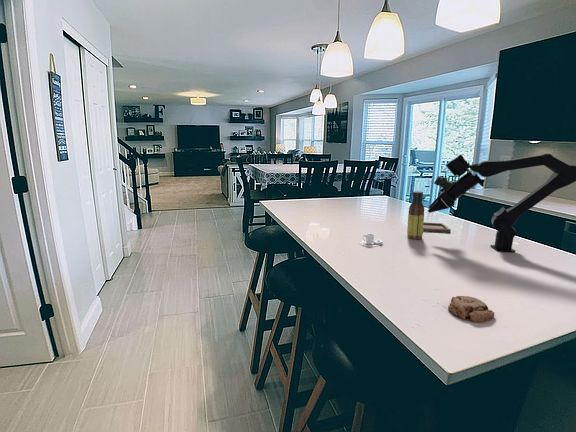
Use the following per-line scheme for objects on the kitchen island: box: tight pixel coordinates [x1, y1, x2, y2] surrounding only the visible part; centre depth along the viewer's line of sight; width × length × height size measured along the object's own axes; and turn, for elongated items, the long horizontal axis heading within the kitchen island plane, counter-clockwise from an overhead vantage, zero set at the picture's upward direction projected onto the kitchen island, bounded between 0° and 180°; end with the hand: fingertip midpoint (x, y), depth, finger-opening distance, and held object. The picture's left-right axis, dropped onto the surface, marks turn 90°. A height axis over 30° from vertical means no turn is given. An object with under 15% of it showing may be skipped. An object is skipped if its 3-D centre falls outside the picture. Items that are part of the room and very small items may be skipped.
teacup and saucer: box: [359, 233, 384, 248], centre depth 134 cm, size 9×8×4 cm
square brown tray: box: [423, 221, 451, 234], centre depth 160 cm, size 12×12×2 cm
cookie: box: [447, 295, 495, 323], centre depth 82 cm, size 10×11×3 cm
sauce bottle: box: [406, 190, 425, 240], centre depth 142 cm, size 6×6×20 cm
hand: (429, 209), depth 139 cm, fingers open, 9 cm apart
